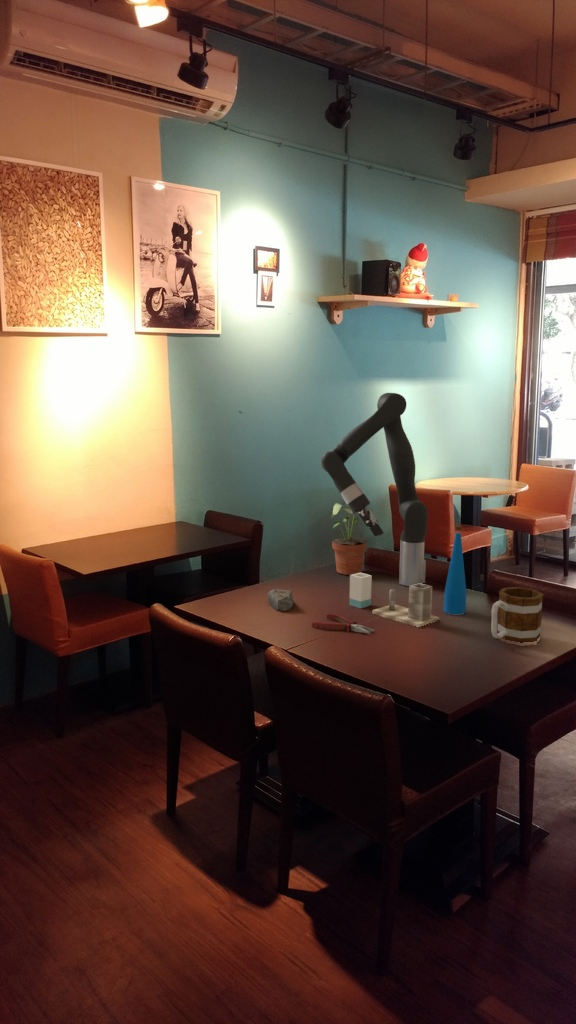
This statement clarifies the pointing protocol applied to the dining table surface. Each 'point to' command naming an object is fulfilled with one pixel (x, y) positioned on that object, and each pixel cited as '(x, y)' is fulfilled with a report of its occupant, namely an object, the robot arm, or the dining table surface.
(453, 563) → the bottle
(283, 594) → the rock
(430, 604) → the peg socket fixture
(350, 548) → the potted plant
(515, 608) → the mug
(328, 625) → the pliers
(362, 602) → the sleeve
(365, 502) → the robot arm
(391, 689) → the dining table surface
